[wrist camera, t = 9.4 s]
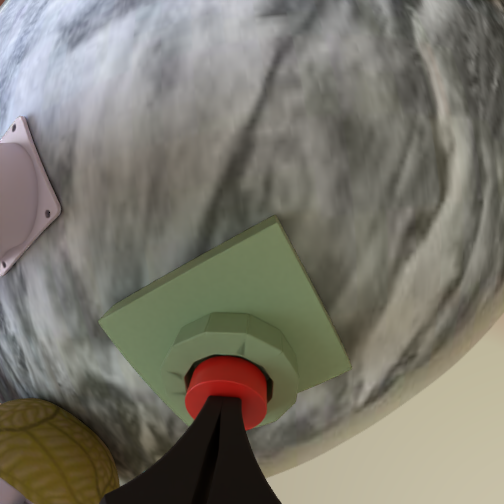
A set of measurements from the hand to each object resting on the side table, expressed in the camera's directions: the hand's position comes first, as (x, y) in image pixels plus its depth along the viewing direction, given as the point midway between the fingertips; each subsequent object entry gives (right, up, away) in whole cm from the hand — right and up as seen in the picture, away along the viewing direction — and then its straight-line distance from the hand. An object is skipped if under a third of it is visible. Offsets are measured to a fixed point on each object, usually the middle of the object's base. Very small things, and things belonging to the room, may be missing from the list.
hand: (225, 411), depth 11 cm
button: (0, +1, +2) cm, 2 cm away
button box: (0, +2, +5) cm, 6 cm away
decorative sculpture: (-19, -13, +10) cm, 25 cm away
